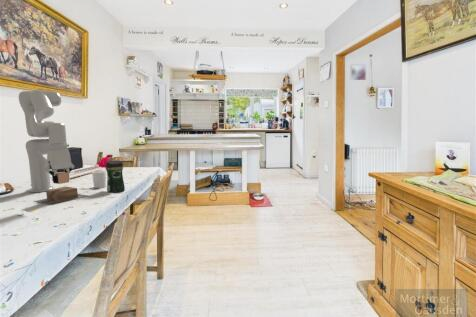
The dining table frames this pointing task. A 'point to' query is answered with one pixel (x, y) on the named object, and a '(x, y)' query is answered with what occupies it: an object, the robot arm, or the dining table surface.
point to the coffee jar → (114, 176)
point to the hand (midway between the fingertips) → (61, 181)
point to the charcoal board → (49, 202)
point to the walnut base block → (62, 194)
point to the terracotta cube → (62, 177)
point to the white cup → (99, 179)
